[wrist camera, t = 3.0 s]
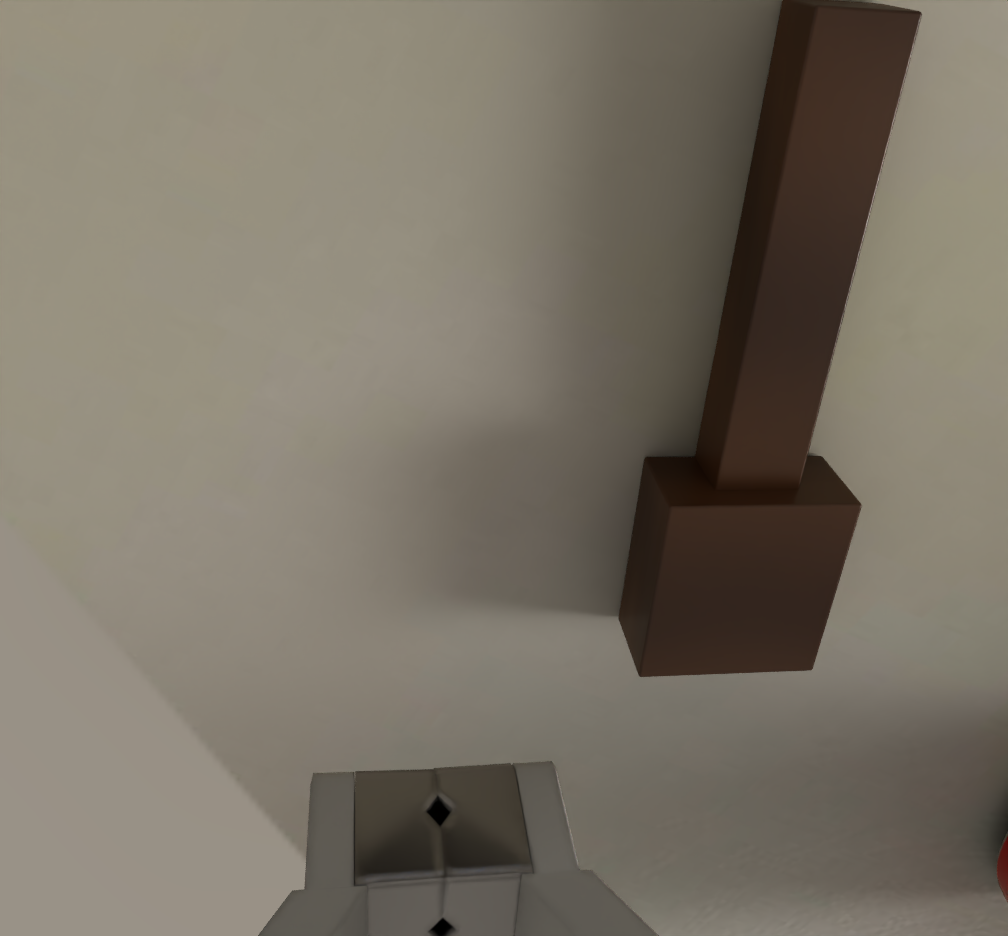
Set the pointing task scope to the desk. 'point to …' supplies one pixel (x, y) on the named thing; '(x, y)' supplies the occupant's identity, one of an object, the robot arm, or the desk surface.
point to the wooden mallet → (773, 370)
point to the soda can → (1003, 867)
